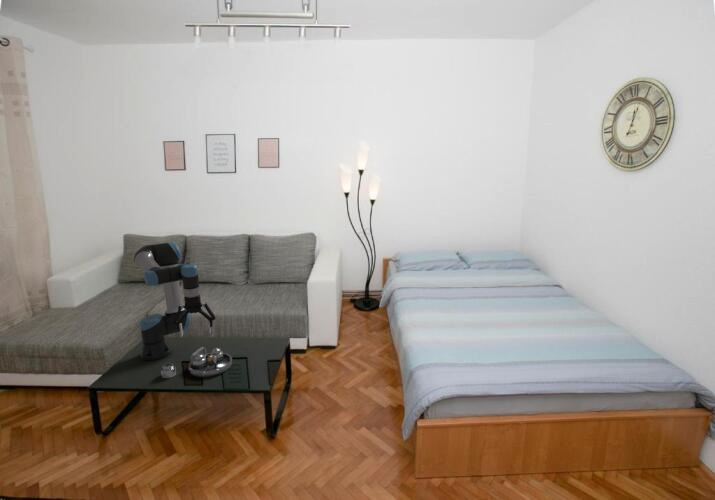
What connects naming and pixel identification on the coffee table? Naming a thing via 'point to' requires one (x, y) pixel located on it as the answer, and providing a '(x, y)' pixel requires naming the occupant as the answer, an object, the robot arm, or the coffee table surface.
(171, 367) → the grey nut
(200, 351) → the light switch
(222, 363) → the carrier
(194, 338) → the coffee table surface
